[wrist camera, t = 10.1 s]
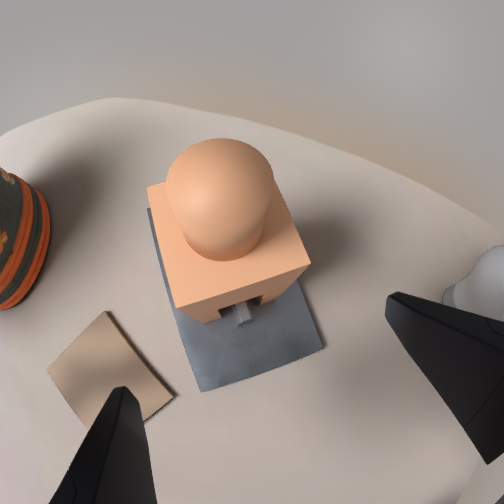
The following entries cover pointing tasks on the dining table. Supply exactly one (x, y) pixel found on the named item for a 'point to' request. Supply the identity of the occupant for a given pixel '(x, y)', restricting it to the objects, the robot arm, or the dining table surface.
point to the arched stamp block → (224, 229)
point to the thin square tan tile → (104, 372)
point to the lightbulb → (481, 287)
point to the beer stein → (20, 237)
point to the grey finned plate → (245, 335)
